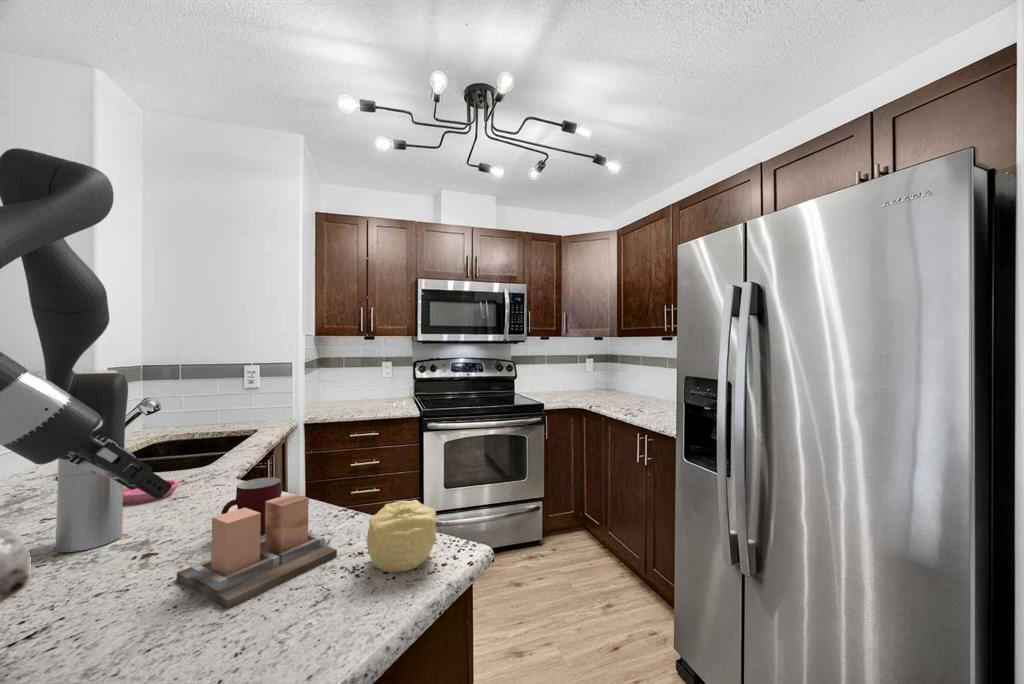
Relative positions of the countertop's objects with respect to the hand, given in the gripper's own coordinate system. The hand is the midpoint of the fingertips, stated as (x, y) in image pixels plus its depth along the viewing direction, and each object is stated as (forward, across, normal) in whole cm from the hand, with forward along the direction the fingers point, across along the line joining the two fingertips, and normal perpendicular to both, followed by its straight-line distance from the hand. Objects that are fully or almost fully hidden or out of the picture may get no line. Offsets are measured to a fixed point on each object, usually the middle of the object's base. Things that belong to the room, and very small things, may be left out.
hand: (152, 488), depth 59 cm
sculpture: (+33, -20, -7) cm, 39 cm away
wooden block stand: (+23, 0, +2) cm, 23 cm away
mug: (+28, +16, -3) cm, 33 cm away
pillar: (+20, 0, +4) cm, 20 cm away
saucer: (+28, +64, -2) cm, 70 cm away
